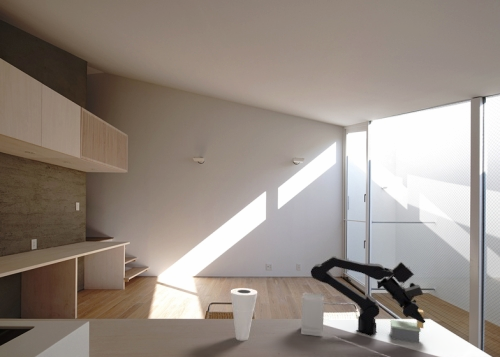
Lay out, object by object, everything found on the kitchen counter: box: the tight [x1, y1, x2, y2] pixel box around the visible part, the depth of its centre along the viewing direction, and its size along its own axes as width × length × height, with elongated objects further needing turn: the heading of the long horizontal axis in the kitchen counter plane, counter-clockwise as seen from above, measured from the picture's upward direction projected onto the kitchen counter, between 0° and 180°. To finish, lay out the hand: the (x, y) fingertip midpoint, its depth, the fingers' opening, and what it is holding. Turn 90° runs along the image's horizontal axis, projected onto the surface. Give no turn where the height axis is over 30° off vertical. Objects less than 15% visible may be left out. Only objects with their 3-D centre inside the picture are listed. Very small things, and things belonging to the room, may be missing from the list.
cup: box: [230, 287, 258, 342], centre depth 138 cm, size 11×11×18 cm
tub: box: [390, 326, 420, 344], centre depth 145 cm, size 10×8×5 cm
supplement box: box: [300, 292, 325, 337], centre depth 148 cm, size 9×9×15 cm
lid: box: [389, 308, 425, 333], centre depth 145 cm, size 12×8×8 cm
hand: (423, 321), depth 143 cm, fingers closed on lid, 3 cm apart
